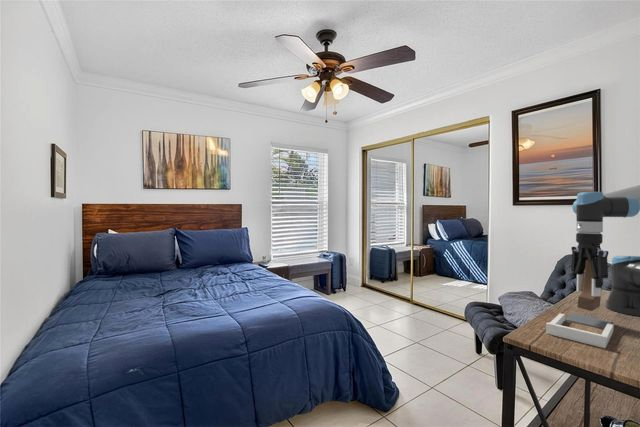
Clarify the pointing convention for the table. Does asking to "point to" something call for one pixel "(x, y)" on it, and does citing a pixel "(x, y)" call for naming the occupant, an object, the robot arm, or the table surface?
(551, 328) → the white u-shaped bracket
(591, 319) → the pad
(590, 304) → the wooden block
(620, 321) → the table surface
